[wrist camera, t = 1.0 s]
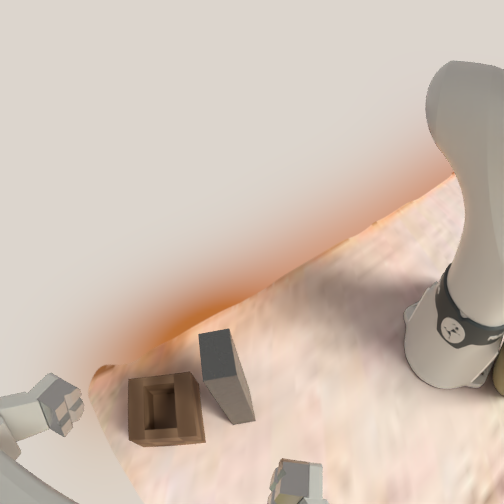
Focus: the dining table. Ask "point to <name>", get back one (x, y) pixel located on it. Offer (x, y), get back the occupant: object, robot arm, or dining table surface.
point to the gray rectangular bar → (225, 375)
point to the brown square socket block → (165, 410)
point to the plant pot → (499, 372)
